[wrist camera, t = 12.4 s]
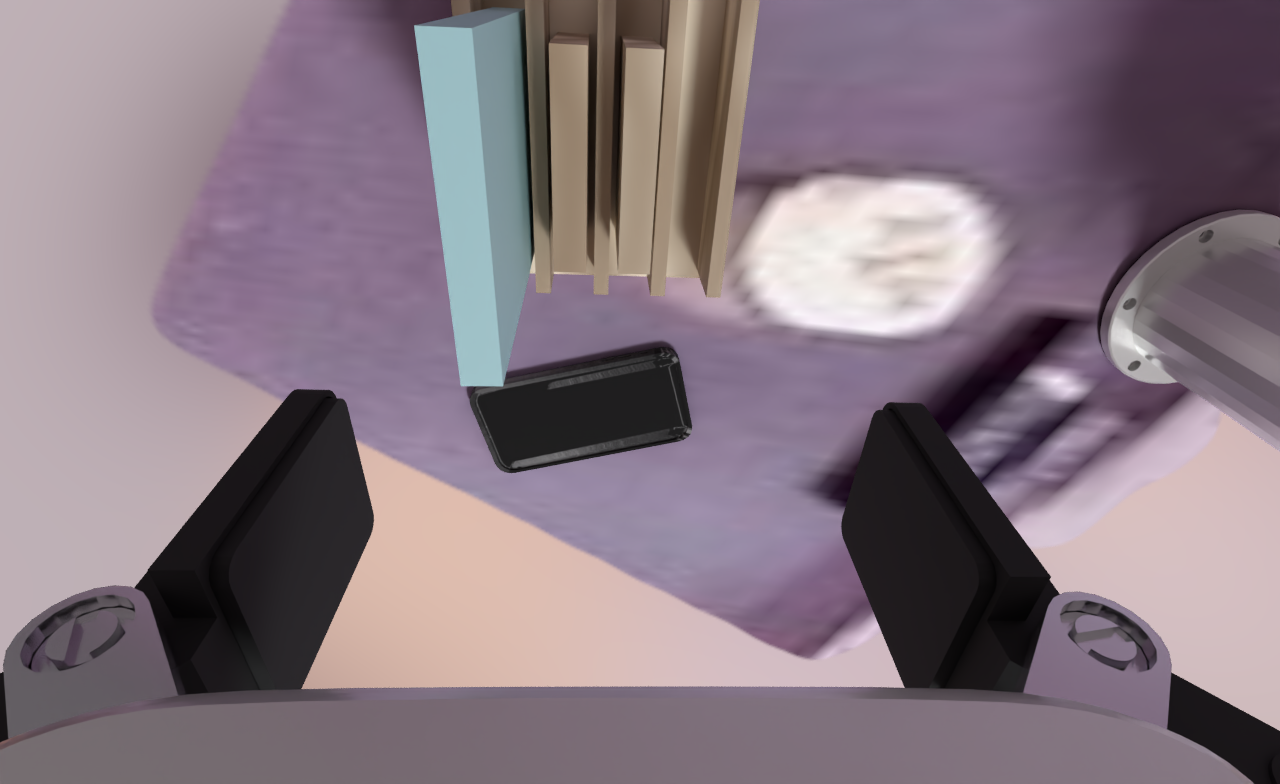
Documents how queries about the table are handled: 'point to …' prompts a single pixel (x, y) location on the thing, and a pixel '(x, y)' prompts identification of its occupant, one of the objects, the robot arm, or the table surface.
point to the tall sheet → (481, 177)
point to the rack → (688, 133)
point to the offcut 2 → (637, 151)
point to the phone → (584, 410)
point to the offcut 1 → (569, 148)
